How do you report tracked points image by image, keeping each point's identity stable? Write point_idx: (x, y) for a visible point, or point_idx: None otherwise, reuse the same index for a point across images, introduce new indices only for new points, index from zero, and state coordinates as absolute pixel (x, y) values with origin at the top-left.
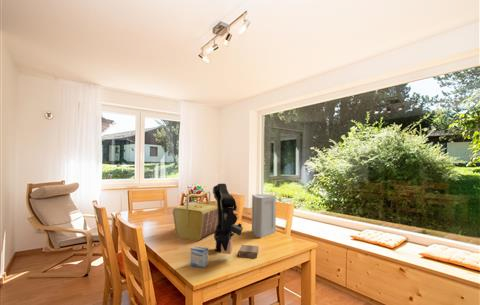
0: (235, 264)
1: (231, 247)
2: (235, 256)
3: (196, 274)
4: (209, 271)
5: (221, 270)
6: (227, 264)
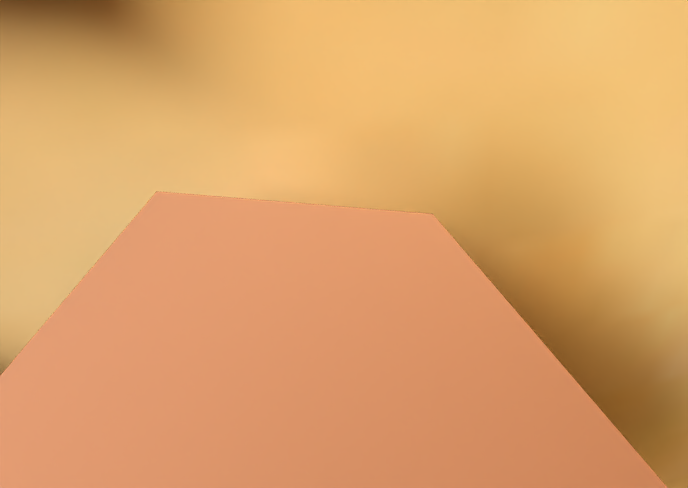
0: (517, 38)
1: (253, 262)
2: (95, 62)
3: (684, 452)
4: (659, 370)
5: (678, 248)
6: (500, 192)
